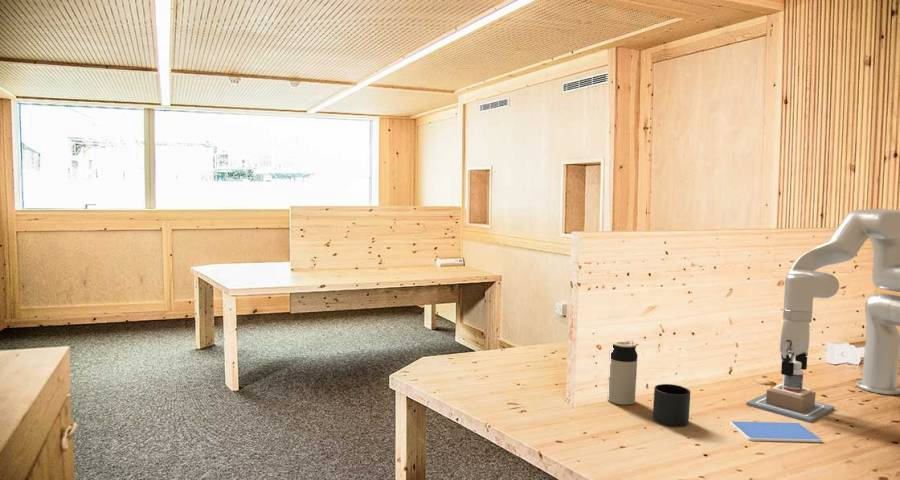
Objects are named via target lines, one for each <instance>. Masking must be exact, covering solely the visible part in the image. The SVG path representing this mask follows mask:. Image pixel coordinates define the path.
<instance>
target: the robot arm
mask: <svg viewBox="0 0 900 480" xmlns="http://www.w3.org/2000/svg"><path fill="white" fill-rule="evenodd" d="M868 239H869V240H870V241H871V244H872V251H873V257H872V274H871V275H872V278H871V279H872V285H874V286H875V287H876V288H878V289H879V290H884V291H889V292H896V293H900V209H891V208H890V209H887V208H867V209H855V210H851V211H850V212H848V213H847V214H846V215H845V217H844V218H843V219H842V221H841V222H840V223H839V224H838V225H837V228H836V229H835V230H834V232H833V233H832V234H831V235H830V237H829V238H828V239H827V241H826V242H825V243H822V244H820V245H818V246H816V247H814V248H812V249H811V250H808V251H807V252H805V253H803V254H802V255H801V256H799V258H798V259H796V261H795V262H794V264H793V265H792V267H791V268H790V269H789V271H788V273H787V275H786V276H785V280H784V295H783V312H782V314H783V315H782V320H783V323H782V327H781V328H782V329H781V332H780V333H781V334H780V341H779V342H780V343H779V352H780V353H781V370H780V374H781V375H782V376H783V375H787V376H793V372H794V363H793V361H798V362H801V363H802V367H801V368H800V369H801V370H802V371H805V370H807V368H808V356H809V353H808V350H809V347H810V346H809V345H810V328H811V327H810V323H812V320H813V307H814V304H813V303H814V299H816V298H817V299H828V298H831V297H834V296H836V294H837V293H838V291H839V289H840V283H839V280H838V279H837V277H836V276H835V275H833V274H831V273H827V272H822V271H817V270H818V269H821V268H823V267H827V266H831V265H836V264H840V263H844V262H848V261H851V260H853V259H854V258H855V257H856V256H857V254H858V252H859V251H860V249H861V248H862V247H863V245H864V244H865V242H866V241H867V240H868ZM864 314H865V320H866V321H865V322H866V324H865V325H866V327H865V328H866V332H865V342H864V343H865V344H864V355H863V366H862V377H861V379H858V380H857V381H856V382H855V385H856V387H858V388H859V389H862V390H864V391H868V392H871V393H875V394H881V395H900V385H899V386H898V385H897V384H898V372H899V362H900V331H899V330H898V328H897V327H900V295H896V294H891V293H885V292H883V293H879V292H878V293H873V294H870V295H869V296H868V297H867V298H866V300H865V304H864Z"/></svg>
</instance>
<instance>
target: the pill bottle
mask: <svg viewBox="0 0 900 480" xmlns="http://www.w3.org/2000/svg"><path fill="white" fill-rule="evenodd" d="M793 363H794V372H793V376H787V375H783V374H782V383H783V385H782V389H783V390H786V391H790V392H794V393H798V394H799V393H801V392H802V388H803V383H804V382H803V381H804V370H803V369H800V368H801V367H802V363H801V362H798V361H795V360H793Z"/></svg>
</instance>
